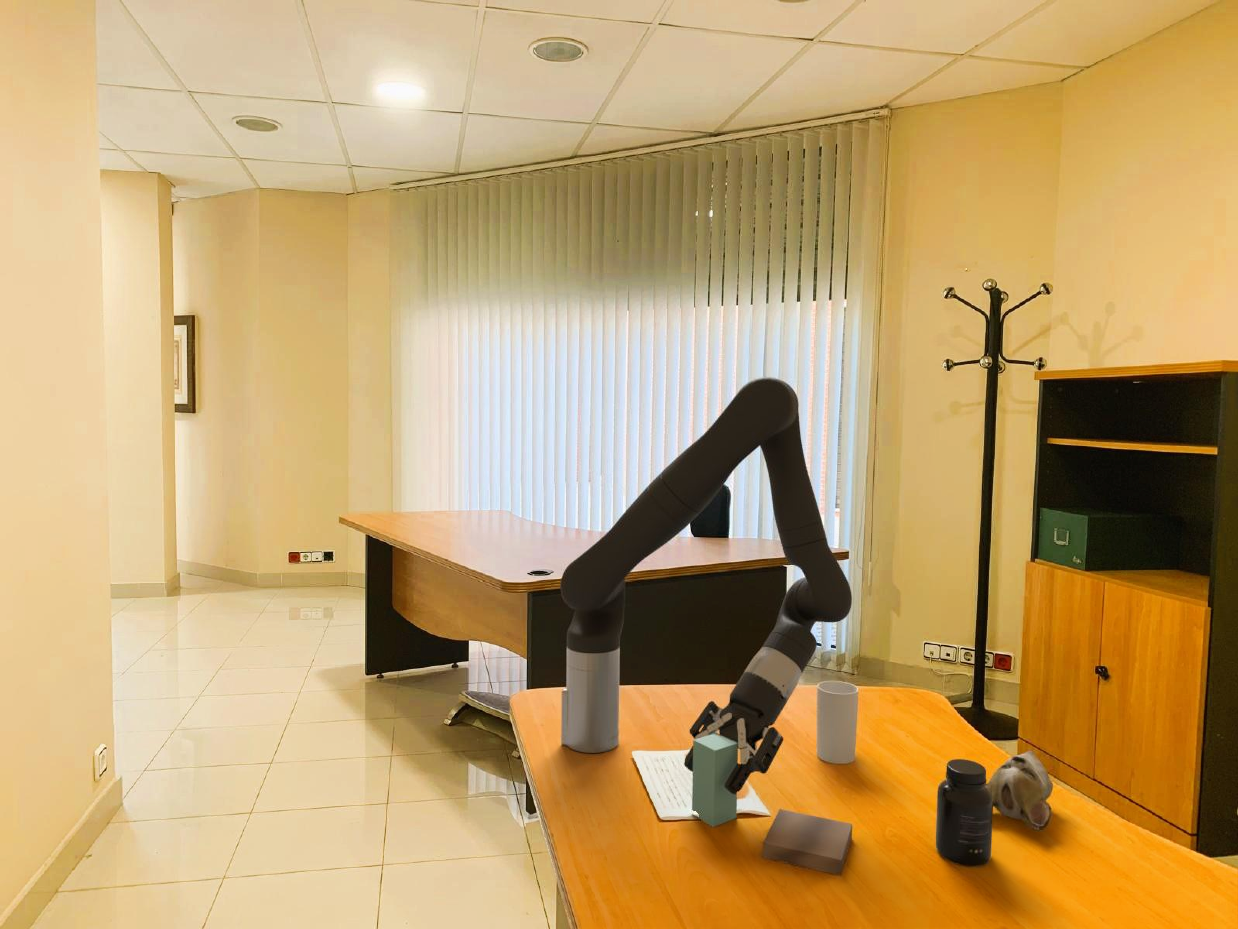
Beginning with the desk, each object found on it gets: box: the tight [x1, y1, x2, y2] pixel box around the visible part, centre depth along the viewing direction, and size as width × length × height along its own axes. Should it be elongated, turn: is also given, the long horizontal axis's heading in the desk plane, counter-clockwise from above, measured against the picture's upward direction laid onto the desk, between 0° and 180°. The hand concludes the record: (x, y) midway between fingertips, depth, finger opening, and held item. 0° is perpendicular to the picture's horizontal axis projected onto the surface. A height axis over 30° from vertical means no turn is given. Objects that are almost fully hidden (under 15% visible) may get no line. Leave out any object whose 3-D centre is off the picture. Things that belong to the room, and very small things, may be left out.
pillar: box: [691, 732, 739, 828], centre depth 118 cm, size 4×4×11 cm
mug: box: [816, 680, 859, 765], centre depth 140 cm, size 10×7×12 cm, turn 148°
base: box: [762, 808, 853, 876], centre depth 110 cm, size 10×10×2 cm
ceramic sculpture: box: [985, 750, 1054, 832], centre depth 120 cm, size 11×9×15 cm
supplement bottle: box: [935, 758, 994, 867], centre depth 108 cm, size 7×7×12 cm
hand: (708, 779), depth 117 cm, fingers open, 8 cm apart
